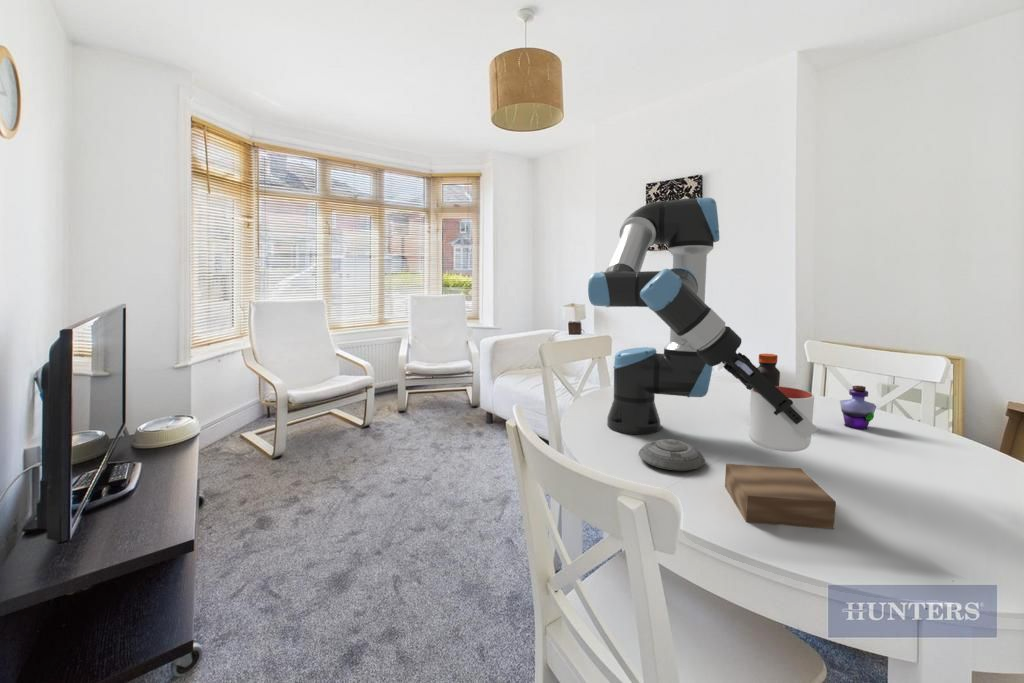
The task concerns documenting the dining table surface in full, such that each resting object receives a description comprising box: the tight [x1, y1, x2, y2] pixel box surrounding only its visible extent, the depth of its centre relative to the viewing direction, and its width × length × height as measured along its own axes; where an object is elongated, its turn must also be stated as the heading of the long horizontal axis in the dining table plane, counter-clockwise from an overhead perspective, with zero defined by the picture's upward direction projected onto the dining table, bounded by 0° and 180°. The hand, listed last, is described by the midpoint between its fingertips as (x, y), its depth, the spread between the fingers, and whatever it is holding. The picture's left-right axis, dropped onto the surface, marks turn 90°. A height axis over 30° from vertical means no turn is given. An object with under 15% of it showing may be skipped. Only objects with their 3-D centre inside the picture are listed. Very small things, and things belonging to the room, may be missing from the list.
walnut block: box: [724, 463, 837, 530], centre depth 85 cm, size 14×14×5 cm
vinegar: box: [757, 353, 781, 386], centre depth 136 cm, size 7×7×20 cm
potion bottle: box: [839, 385, 877, 431], centre depth 128 cm, size 9×9×12 cm
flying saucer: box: [638, 438, 706, 472], centre depth 106 cm, size 15×15×6 cm
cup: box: [747, 385, 815, 453], centre depth 83 cm, size 10×10×10 cm
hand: (797, 424), depth 82 cm, fingers closed on cup, 10 cm apart
